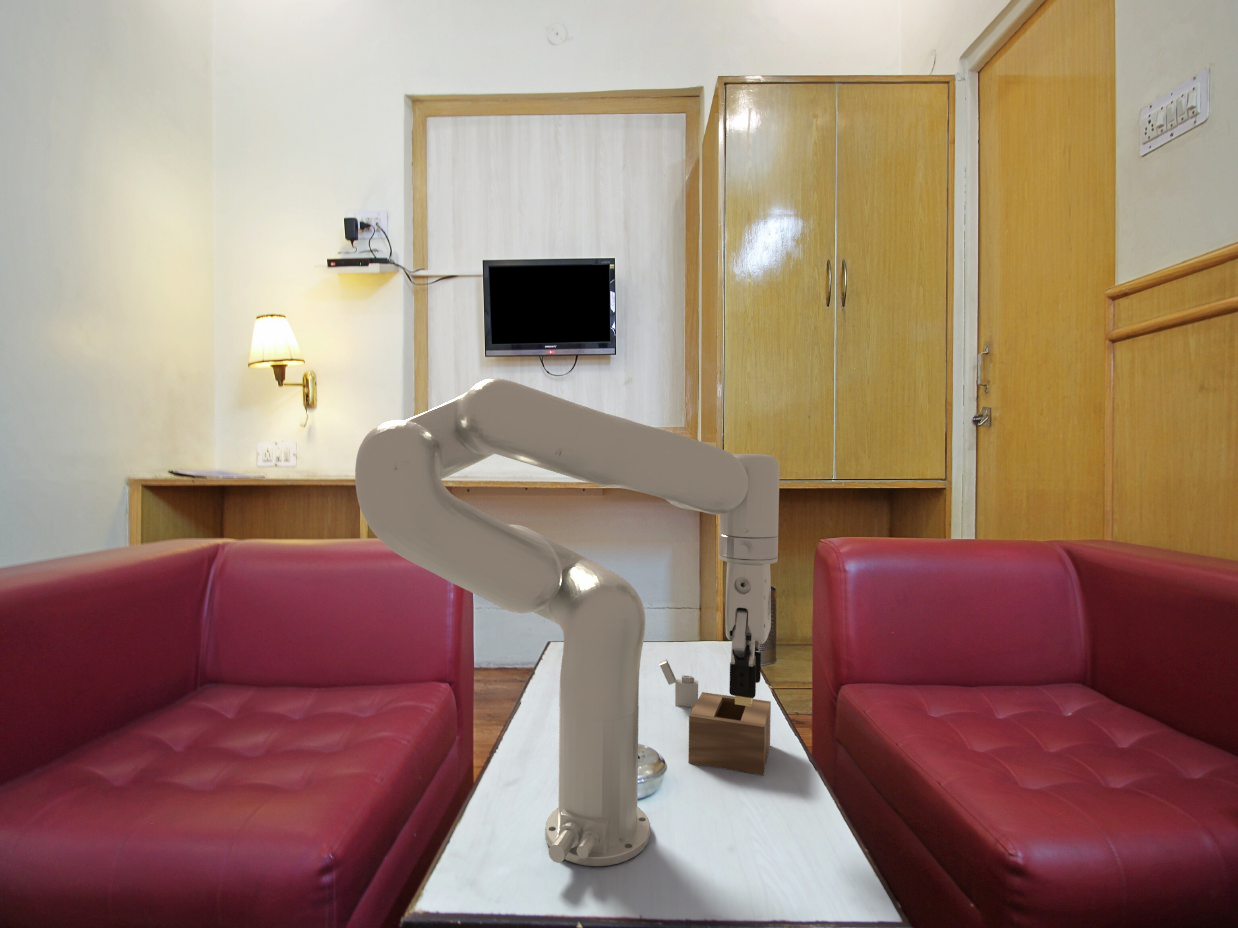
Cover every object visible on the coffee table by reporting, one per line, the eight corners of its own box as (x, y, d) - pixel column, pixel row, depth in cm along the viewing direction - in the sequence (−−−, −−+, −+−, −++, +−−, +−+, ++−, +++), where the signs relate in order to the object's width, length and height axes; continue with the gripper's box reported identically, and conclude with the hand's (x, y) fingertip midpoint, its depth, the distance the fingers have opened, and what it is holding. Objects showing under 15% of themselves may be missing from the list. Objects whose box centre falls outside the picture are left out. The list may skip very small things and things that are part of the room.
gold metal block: (750, 706, 78) (751, 667, 78) (734, 704, 78) (735, 664, 78) (755, 692, 83) (756, 655, 83) (740, 690, 83) (740, 653, 83)
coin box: (763, 775, 89) (764, 727, 89) (688, 762, 92) (689, 715, 92) (770, 745, 98) (770, 701, 98) (701, 734, 102) (702, 692, 102)
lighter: (698, 703, 115) (698, 660, 115) (697, 707, 113) (698, 663, 113) (659, 701, 116) (660, 658, 116) (659, 704, 114) (659, 661, 114)
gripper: (771, 560, 71) (768, 718, 71) (782, 542, 87) (780, 671, 87) (707, 556, 74) (704, 708, 74) (729, 539, 90) (726, 664, 90)
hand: (745, 686), depth 81 cm, fingers closed on gold metal block, 4 cm apart
